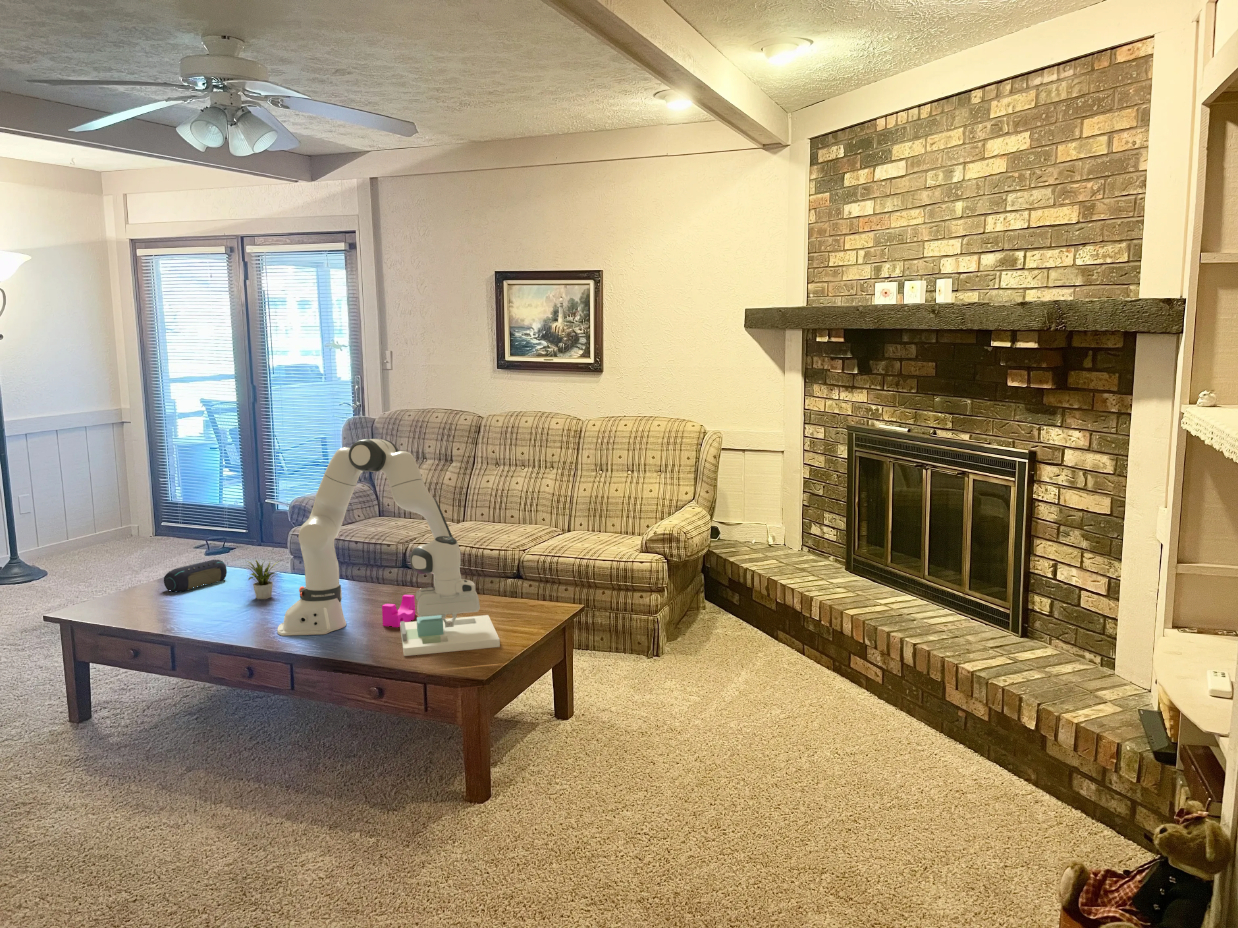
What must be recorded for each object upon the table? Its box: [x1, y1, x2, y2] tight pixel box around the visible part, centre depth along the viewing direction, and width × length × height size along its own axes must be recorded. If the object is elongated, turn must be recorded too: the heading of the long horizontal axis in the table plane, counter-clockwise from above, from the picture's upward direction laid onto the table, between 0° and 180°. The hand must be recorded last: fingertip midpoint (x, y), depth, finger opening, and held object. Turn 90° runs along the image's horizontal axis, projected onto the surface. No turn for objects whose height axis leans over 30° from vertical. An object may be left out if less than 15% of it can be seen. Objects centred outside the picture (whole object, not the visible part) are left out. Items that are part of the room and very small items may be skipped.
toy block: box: [381, 594, 416, 628], centre depth 326 cm, size 15×6×8 cm, turn 161°
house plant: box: [242, 558, 280, 600], centre depth 355 cm, size 14×14×16 cm
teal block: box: [416, 615, 443, 637], centre depth 304 cm, size 8×7×4 cm
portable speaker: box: [163, 559, 228, 592], centre depth 374 cm, size 25×10×10 cm, turn 151°
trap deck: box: [399, 614, 501, 657], centre depth 306 cm, size 30×28×5 cm
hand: (449, 626), depth 306 cm, fingers closed
